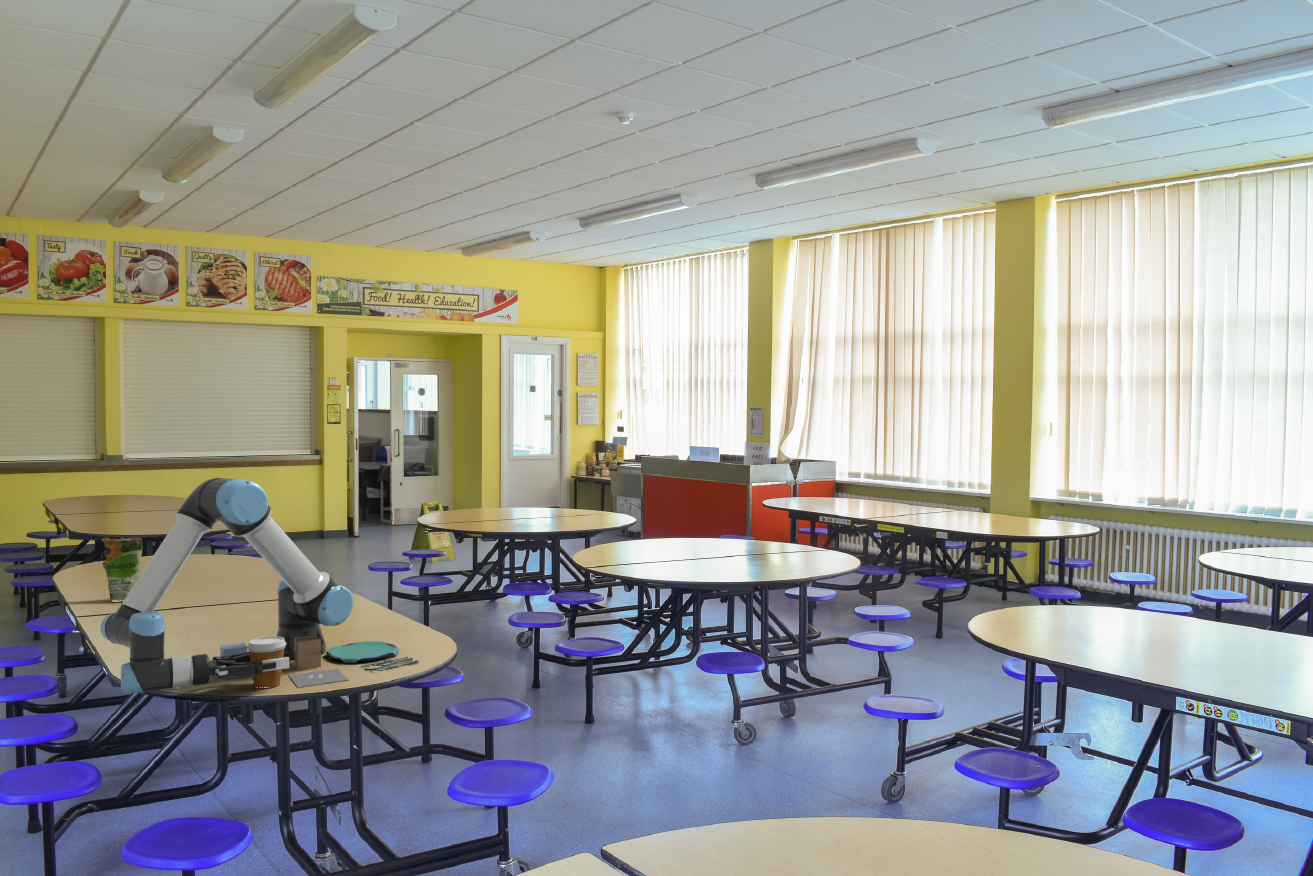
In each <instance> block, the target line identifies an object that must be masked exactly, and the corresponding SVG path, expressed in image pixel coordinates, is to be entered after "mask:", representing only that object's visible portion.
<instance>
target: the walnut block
mask: <svg viewBox="0 0 1313 876" xmlns="http://www.w3.org/2000/svg"><path fill="white" fill-rule="evenodd" d="M294 665H295V666H296V667H295V666H294V667H295V668H296V669H297V671H303V669H306V670H310V669H309V668H313V669H318V667H320V668H322V654H321V639H320V638H319V637H318V636H316V635H314V636H306V637H297V638H294Z"/></svg>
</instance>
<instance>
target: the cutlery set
mask: <svg viewBox="0 0 1313 876" xmlns="http://www.w3.org/2000/svg"><path fill="white" fill-rule="evenodd" d="M325 653H326V655H327V656H328V657H329V658H331V659H333V660H337V661H342V662H343V663H345V664H349V663H350V664H356V663H357V662H367V661H374V660H375V661H376V660H379V659H384V658H386V657H390V656H391V655H394V654H395V656H396V655H397V656H398V655H399V653H400V648H398V646H396V645H395V644H393V643H390V642H389V643H388V642H385V641H380V640H378V641H377V640H374V641H373V640H372V641H371V640H369V641H368V640H367V641H366V640H364V641H361V642H353V643H347V644H342V645H336V646H333V647H331V648H329V649H328V650H327V651H325ZM403 662H405V663H403ZM398 663H401V664H398ZM416 663H417V664H419V660H418V659H415V660H414V658H413V657H411V656H410V657H408V656H404V657H400V658H393V659H384V660H383V661H376V662H372V663H367V664H362V665H360V668H364V667H363V666H366V667H365V669H366V670H368V669H367V668H369V667H371V666H382V667H372V668H371V669H374V670H370V671H371V672H370V673H372V672H373V671H380V672H384V671H383V670H386V671H389V670H391V669H392V668H393V669H394V668H400V667H399V666H403V667H407V666H406V665H408V666H410V665H411V666H412V665H415V664H416ZM375 664H376V665H375ZM395 664H396V665H395ZM369 665H371V666H369ZM386 665H387V666H386ZM404 665H405V666H404ZM383 666H384V667H383ZM379 668H380V669H379ZM369 669H370V668H369ZM388 669H389V670H388Z"/></svg>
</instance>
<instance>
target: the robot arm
mask: <svg viewBox="0 0 1313 876" xmlns="http://www.w3.org/2000/svg"><path fill="white" fill-rule="evenodd" d="M268 501H269V500H268V496H267V493H266V491H265V490H264V489H263V488H262V486H261V485H259V484H258V483H256V482H254V481H251V480H248V479H243V478H226V477H225V478H223V477H215V478H214V477H213V478H210V479H207V480H205V481H203V482H202V483H200V484H199V485H197V487H195V489H194V490H193V491H192V492H191V493H190V494H189V495H188V496H187V498H185V500H184V502H183V504H182V505H181V506H180V507H179V509H178V510H177V512H176V514H175V519H176V521H175V522H174V523H173V525H172V527H171V528H170V530H169V531H168V533H167V534H166V536H165V538H164V539H163V541H162V542H161V544H159V547H158V548H157V550H156V551H155V553H154V554H153V556H152V558H151V559H150V560H149V562H148V564H147V565H146V567H144V570H142V574H141V576H140V577H139V579H138V580H137V582H136V583H135V585H134V586H133V588H132V589H131V591H130V592H129V594H128V595H127V597H126V598H125V600H124V601H123V602H121V603H122V604H120V606H119V607H118V609H117V611H116V612H111V613H109V614H108V615H106V616H105V617H104V618H103V620H102V621H101V623H100V629H99V630H100V634H101V635H102V637H103V638H104V639H105V640H107V641H109V642H110V643H112V644H115V645H116V644H117V645H121V646H124V647H126V648H129V662H125V663H122V664H121V665H120V690H121V692H122V693H123V694H126V695H129V694H139V693H140V694H145V693H149V692H156V691H162V690H168V689H169V690H170V689H176V690H178V691H179V690H180V689H181V688H183V687H190V685H191V684H192V685H193V686H198V685H199V686H200V685H207V684H208V683H209V681H210V677H211V676H216V677H218V679H223V678H225V679H227V678H226V677H233V678H235V677H234V676H240V677H245V676H246V675H247V676H253V675H257V674H258V675H263V671H271V670H278V669H282V670H284V669H290V659H292V660H293V659H294V638H297V637H306V636H314V635H316V636H318V637H319V638H320V639H321V655H322V654H324V653H326V652H327V651H326V650H327V642H326V639H325V637H324V634H323V630H322V628H321V625H322V626H325V627H335V626H336V627H337V626H339V625H342V624H343V623H345V621H347V619H349V617H350V615H351V614H352V612H353V609H354V606H353V605H354V595H353V593H352V592H351V590H350V589H349V588H347V587H346V586H344V585H339V584H337V582H336V581H335V580H334V579H333V578H332V577H331V576H330V574H329V573H328V572H327V571H319V570H318V569H317V568H316V566H314V565H313V563H312V562H311V561H310V560H309V558H307V556H306V555H305V554H304V553H303V552H302V550H300V548H298V546H297V545H296V544H295V543H294V541H293V540H292V539H291V537H289V536H288V535H287V533H286V532H285V531H284V530H283V529H282V528H281V527H280V526H279V524H278V523H277V521H275V520H274V518H273V517H272V515H271V514H272V507H271V506H270V505H269V504H268ZM218 522H221V523H222V524H223V525H224V526H225V527H226V529H228V531H230V533H232V535H233V536H235V537H239V538H241V537H242V538H244V539H245V540H246V541H247V543H248V544H250V545H251V546H252V548H254V549H255V551H256V552H257V553H258V554H259V556H261V558H263V560H264V561H265V562H266V563H267V564H268V565H269V566H270V567H271V569H272V570H273V571H274V572H275V573H276V574H277V575H278V576H279V578H281V580H280V581H279V582H278V587H277V588H278V589H277V598H278V599H277V600H278V602H277V606H278V608H277V609H278V610H277V611H278V612H277V613H278V625H277V626H278V628H277V632H276V635H275V637H282V638H284V640H285V642H286V646H285V648H284V655H283V658H278V659H270V660H262V662H251V659H250V652H249V651H247V652H244V653H238V654H232V655H226V656H212V660H209V655H208V654H207V653H203V654H202V653H201V654H193V655H192V656H191V657H190V656H189V655H184V656H177V657H170V658H165V630H166V625H165V617H164V614H163V613H162V612H160V611H155V610H156V608H157V606H158V605H159V603H160V602H161V600H162V598H163V597H164V595H165V594H166V593H167V591H168V590H169V588H170V586H171V584H172V583H173V582H174V580H175V579H176V577H177V575H178V574H179V573H180V571H181V569H182V568H183V566H184V564H185V563H186V561H187V560H188V558H189V557H190V555H191V554H192V553H193V551H194V550H195V547H196V546H197V544H198V543H199V541H200V540H201V538H202V537H203V535H204V534H208V533H209V532H210V531H212V529H213V527H214V525H215V524H216V523H218Z"/></svg>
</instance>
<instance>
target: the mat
mask: <svg viewBox="0 0 1313 876" xmlns="http://www.w3.org/2000/svg"><path fill="white" fill-rule="evenodd" d="M319 674H322V675H323V678H318V677H319ZM309 675H313V678H309ZM288 677H289V678H290V680H291V679H292V680H291V681H292V682H293V683H294V685H295V684H296V685H297V686H300V685H301V687H300V688H304V687H303V686H307V687H311V686H310V685H314V686H317V685H316V684H320V685H325V684H324V683H327V684H333V682H334V683H339V682H346V681H347V680H348V681H349V678H348V677H347V676H345V675H344V673H343V672H341V670H340V669H339V668H332V669H325V670H317V671H310V672H302V673H296V674H289V676H288ZM302 677H303V678H302ZM348 681H347V682H348ZM296 685H295V686H296ZM297 686H296V687H297Z"/></svg>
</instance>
